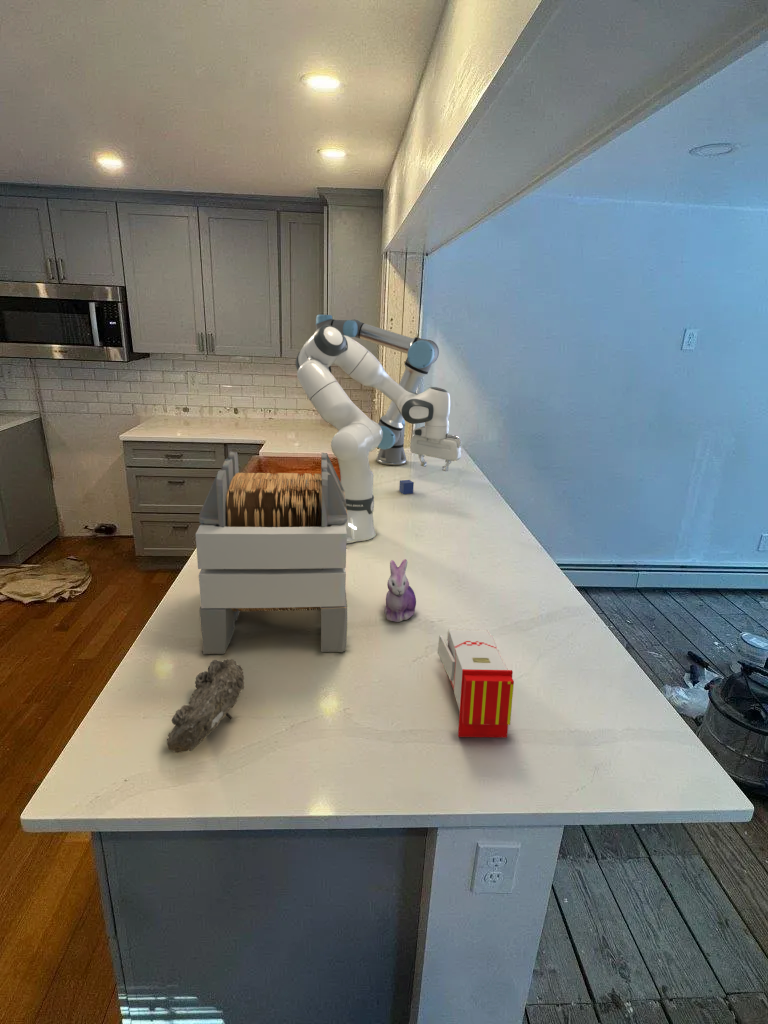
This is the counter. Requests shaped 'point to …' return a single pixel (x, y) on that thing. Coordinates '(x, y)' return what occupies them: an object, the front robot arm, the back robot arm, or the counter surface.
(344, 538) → the transformer
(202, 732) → the fossil
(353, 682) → the counter surface
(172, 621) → the counter surface
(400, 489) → the brick
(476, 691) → the toy
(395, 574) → the figurine
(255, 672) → the counter surface
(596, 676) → the counter surface
